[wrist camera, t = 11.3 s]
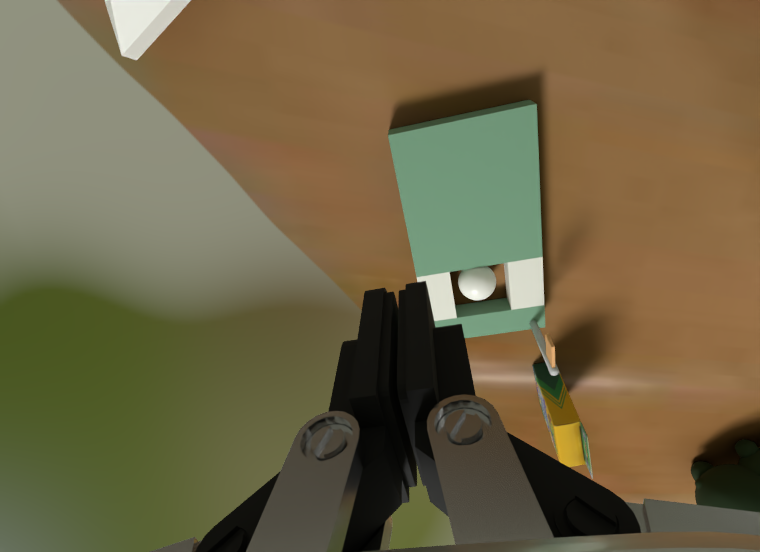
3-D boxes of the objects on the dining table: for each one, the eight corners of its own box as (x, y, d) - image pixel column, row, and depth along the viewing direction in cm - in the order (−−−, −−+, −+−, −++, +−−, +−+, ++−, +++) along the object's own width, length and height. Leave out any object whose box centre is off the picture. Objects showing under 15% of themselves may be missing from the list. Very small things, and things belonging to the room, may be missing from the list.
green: (529, 99, 39) (566, 121, 30) (539, 314, 51) (568, 377, 42) (388, 129, 41) (384, 158, 32) (428, 330, 53) (433, 393, 44)
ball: (491, 252, 46) (499, 284, 44) (492, 273, 49) (499, 303, 47) (454, 259, 47) (460, 291, 44) (456, 279, 50) (462, 309, 48)
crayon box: (530, 363, 55) (558, 440, 45) (554, 359, 54) (589, 435, 44) (538, 404, 58) (566, 483, 48) (561, 400, 57) (594, 479, 47)
